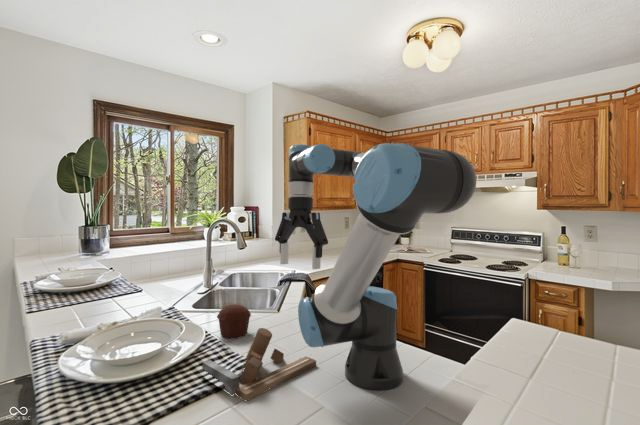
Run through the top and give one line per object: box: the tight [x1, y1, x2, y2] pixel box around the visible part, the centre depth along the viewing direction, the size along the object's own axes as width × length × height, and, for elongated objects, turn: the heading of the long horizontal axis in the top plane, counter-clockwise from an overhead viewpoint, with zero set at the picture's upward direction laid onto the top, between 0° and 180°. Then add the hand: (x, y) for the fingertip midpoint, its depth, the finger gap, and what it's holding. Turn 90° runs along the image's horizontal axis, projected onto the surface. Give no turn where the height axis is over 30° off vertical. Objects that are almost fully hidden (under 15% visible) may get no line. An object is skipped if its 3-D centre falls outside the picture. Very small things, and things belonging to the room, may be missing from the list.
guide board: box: [202, 356, 317, 401], centre depth 88 cm, size 17×25×4 cm
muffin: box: [216, 303, 252, 340], centre depth 116 cm, size 12×11×10 cm
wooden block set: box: [239, 327, 285, 386], centre depth 88 cm, size 18×9×10 cm, turn 164°
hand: (299, 266), depth 100 cm, fingers open, 13 cm apart
